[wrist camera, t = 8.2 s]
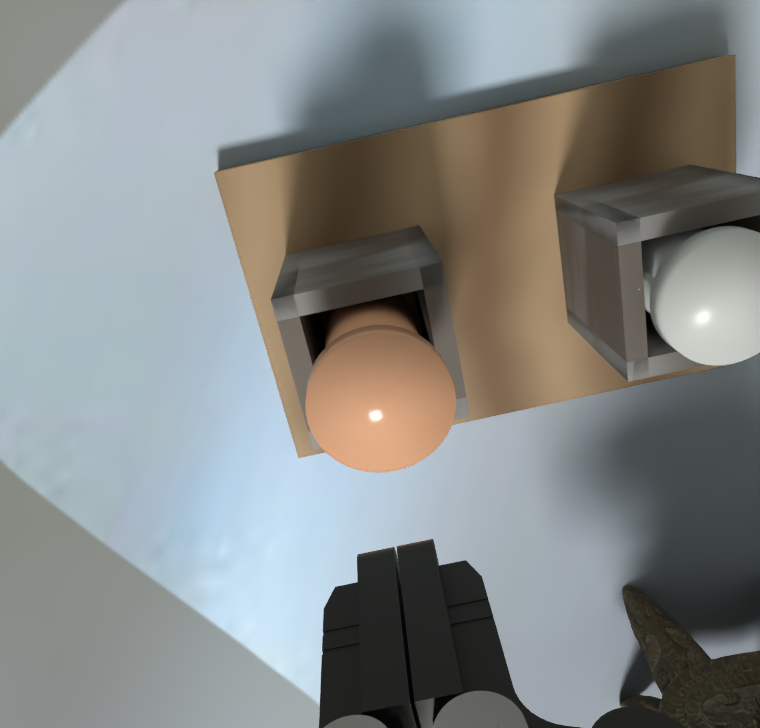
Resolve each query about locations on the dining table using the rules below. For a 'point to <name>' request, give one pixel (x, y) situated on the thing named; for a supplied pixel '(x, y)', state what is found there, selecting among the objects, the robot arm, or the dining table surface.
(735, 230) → the white bulb-shaped plug
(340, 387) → the terracotta plug
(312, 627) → the dining table surface
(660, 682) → the vessel
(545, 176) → the board
